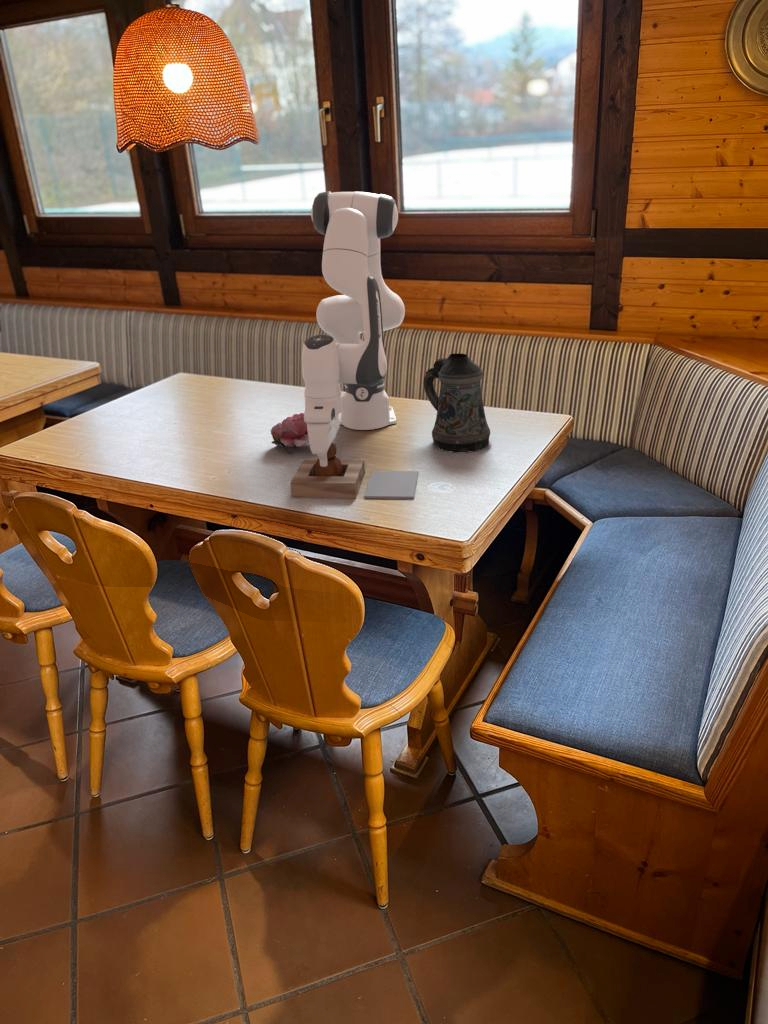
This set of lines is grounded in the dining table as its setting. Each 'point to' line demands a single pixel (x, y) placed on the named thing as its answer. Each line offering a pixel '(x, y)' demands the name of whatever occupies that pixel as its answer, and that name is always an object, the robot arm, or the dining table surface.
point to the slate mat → (392, 485)
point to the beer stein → (457, 404)
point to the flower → (291, 432)
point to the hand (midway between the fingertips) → (327, 458)
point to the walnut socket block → (328, 480)
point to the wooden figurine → (330, 464)
